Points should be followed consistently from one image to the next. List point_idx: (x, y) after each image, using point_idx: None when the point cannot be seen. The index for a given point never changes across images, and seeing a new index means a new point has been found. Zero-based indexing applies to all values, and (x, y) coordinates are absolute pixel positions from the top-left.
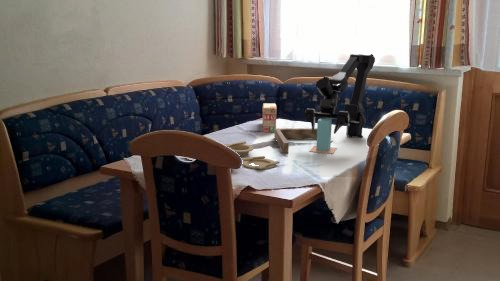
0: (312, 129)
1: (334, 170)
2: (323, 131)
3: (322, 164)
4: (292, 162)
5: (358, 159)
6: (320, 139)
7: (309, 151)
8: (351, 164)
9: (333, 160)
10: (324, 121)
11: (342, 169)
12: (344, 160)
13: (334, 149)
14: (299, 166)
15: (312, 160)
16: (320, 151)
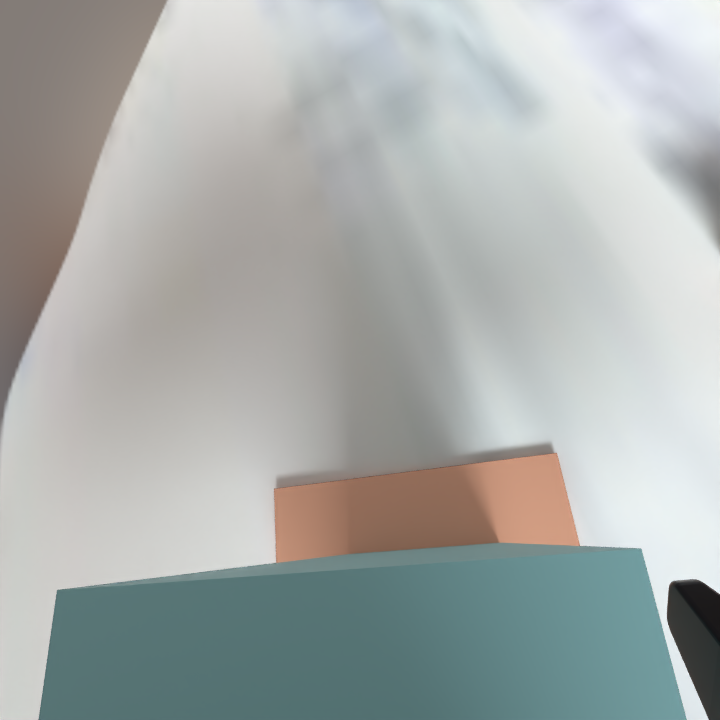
0: (716, 598)
1: (178, 73)
2: (378, 556)
3: (282, 136)
4: (513, 57)
5: (27, 418)
6: (446, 548)
7: (553, 453)
8: (81, 248)
9: (226, 275)
10: (283, 571)
11: (133, 116)
12: (139, 323)
13: None
14: (419, 16)
15: (389, 183)
16: (426, 501)
